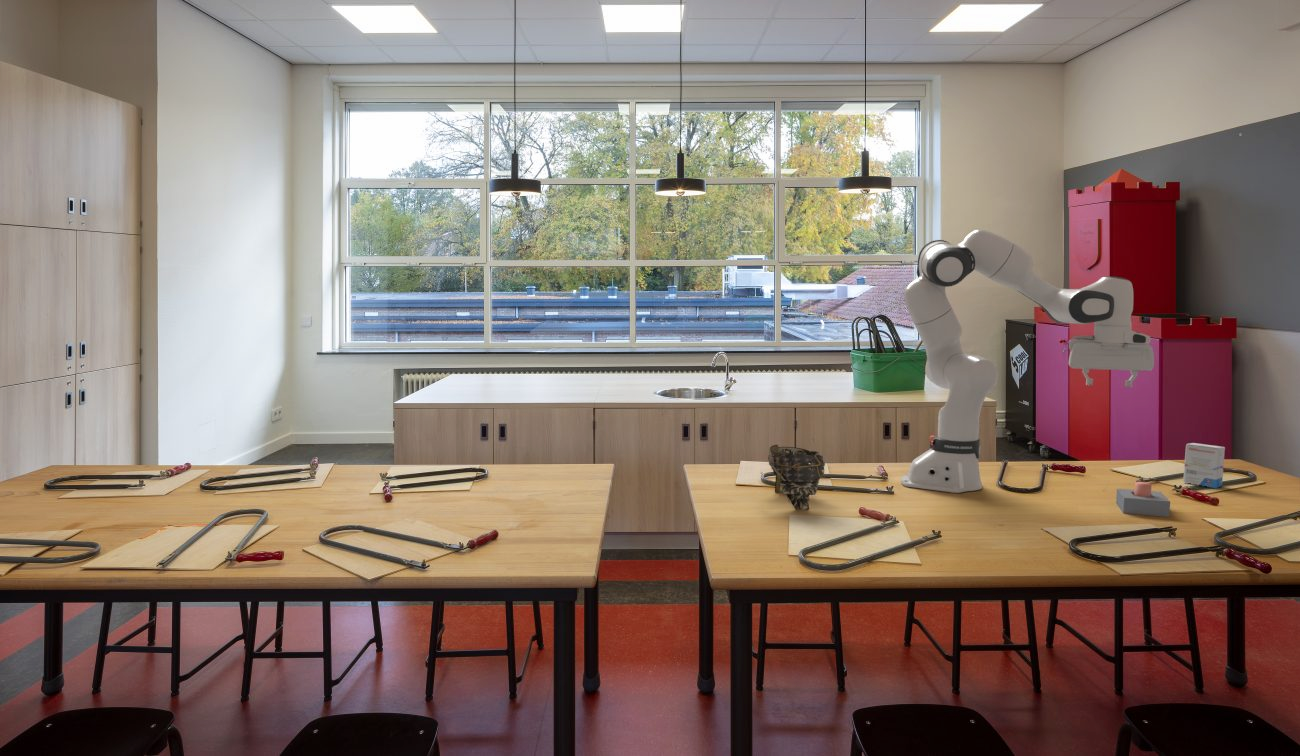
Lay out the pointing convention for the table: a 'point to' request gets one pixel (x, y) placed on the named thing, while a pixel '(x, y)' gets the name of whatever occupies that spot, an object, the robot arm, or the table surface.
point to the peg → (1142, 489)
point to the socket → (1143, 503)
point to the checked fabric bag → (796, 473)
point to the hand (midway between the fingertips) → (1108, 385)
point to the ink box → (1204, 465)
